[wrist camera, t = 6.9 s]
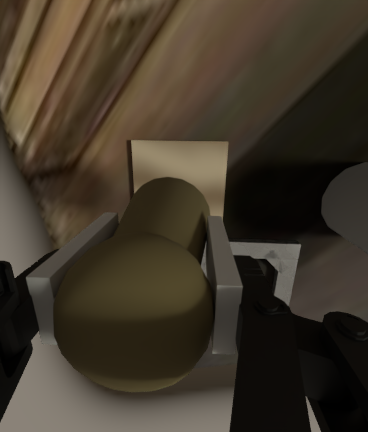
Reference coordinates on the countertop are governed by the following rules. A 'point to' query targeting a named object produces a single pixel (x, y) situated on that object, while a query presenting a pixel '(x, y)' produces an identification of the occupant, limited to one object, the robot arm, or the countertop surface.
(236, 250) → the plate
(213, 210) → the coaster
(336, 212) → the cup
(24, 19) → the countertop surface
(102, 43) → the countertop surface
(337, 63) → the countertop surface
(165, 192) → the pepper shaker
